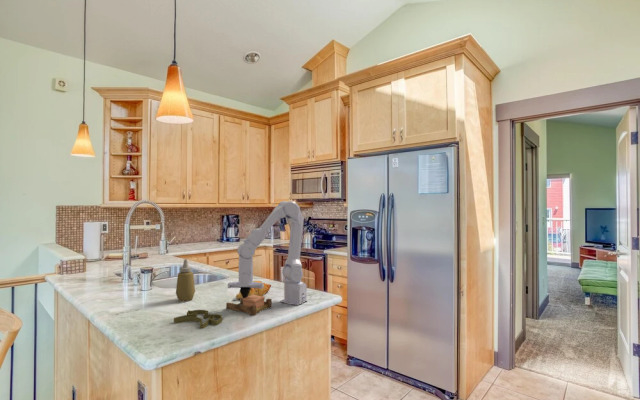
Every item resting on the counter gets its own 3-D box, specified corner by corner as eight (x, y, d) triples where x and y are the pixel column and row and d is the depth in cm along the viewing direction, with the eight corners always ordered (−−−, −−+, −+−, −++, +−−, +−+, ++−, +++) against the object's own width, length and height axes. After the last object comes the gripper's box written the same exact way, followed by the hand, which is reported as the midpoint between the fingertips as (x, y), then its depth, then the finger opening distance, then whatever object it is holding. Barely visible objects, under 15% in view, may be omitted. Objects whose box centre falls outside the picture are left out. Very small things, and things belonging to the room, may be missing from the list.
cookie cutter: (169, 323, 122) (169, 317, 122) (194, 313, 133) (194, 308, 133) (206, 331, 115) (206, 325, 115) (230, 320, 125) (230, 314, 125)
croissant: (241, 309, 147) (247, 294, 145) (227, 295, 152) (232, 281, 150) (273, 297, 165) (279, 284, 163) (260, 285, 170) (265, 272, 167)
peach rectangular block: (264, 307, 137) (264, 296, 137) (254, 311, 132) (254, 300, 132) (252, 305, 140) (252, 294, 140) (242, 309, 135) (242, 298, 135)
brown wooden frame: (271, 307, 139) (271, 299, 139) (253, 315, 129) (253, 306, 129) (242, 302, 146) (242, 294, 146) (223, 309, 136) (223, 300, 136)
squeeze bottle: (188, 303, 145) (188, 261, 145) (171, 302, 146) (171, 260, 146) (198, 298, 153) (198, 258, 153) (182, 297, 154) (183, 257, 154)
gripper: (265, 270, 142) (265, 302, 142) (231, 270, 143) (231, 302, 143) (261, 274, 135) (261, 308, 135) (225, 273, 136) (225, 307, 136)
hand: (245, 305), depth 138 cm, fingers closed, pressing on peach rectangular block
